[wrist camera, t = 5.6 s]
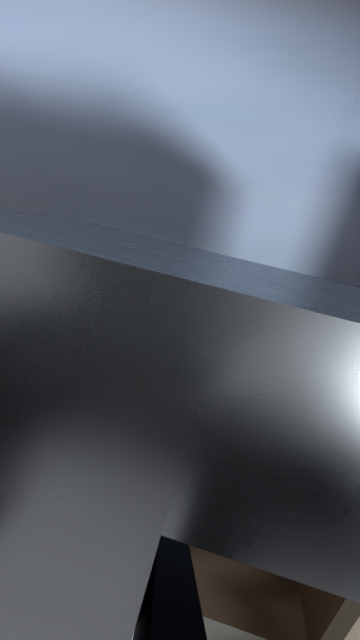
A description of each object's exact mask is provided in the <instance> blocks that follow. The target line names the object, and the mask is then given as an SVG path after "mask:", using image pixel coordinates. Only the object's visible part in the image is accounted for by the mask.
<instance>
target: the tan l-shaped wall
mask: <svg viewBox="0 0 360 640" xmlns="http://www.w3.org/2000/svg"><path fill="white" fill-rule="evenodd" d="M189 547H190V552H191V557H192V562H193V568H194V573H195V578H196V583H197V588H198V594H199V599H200V604H201V609H202V614H203V620H204V625H205V630H206V635H207V640H360V603H358V602H355V601H352V600H349V599H346V598H343V597H341V596H338V595H335V594H332V593H329V592H326V591H323V590H320V589H317V588H314V587H311V586H308V585H305V584H302V583H299V582H297V581H294V580H291V579H288V578H285V577H282V576H279V575H276V574H273V573H270V572H267V571H264V570H261V569H258V568H255V567H253V566H250V565H247V564H244V563H241V562H238V561H235V560H232V559H229V558H226V557H223V556H220V555H217V554H214V553H211V552H209V551H206V550H203V549H200V548H197V547H194V546H191V545H189ZM134 630H135V629H134ZM133 634H134V633H133Z"/></svg>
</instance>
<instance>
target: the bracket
mask: <svg viewBox="0 0 360 640" xmlns="http://www.w3.org/2000/svg"><path fill="white" fill-rule="evenodd" d="M161 535H162V536H165V537H167V538H170V539H173V540H176V541H179V542H182V543H185V544H188V545H191V546H194V547H197V548H200V549H203V550H206V551H209V552H211V553H214V554H217V555H220V556H223V557H226V558H229V559H232V560H235V561H238V562H241V563H244V564H247V565H250V566H253V567H255V568H258V569H261V570H264V571H267V572H270V573H273V574H276V575H279V576H282V577H285V578H288V579H291V580H294V581H297V582H299V583H302V584H305V585H308V586H311V587H314V588H317V589H320V590H323V591H326V592H329V593H332V594H335V595H338V596H341V597H343V598H346V599H349V600H352V601H355V602H358V603H360V288H358V287H354V286H350V285H346V284H342V283H338V282H333V281H329V280H325V279H321V278H317V277H313V276H309V275H305V274H300V273H296V272H292V271H288V270H284V269H280V268H276V267H272V266H267V265H263V264H259V263H255V262H251V261H247V260H243V259H239V258H234V257H230V256H226V255H222V254H218V253H214V252H210V251H205V250H201V249H197V248H193V247H189V246H185V245H181V244H177V243H172V242H168V241H164V240H160V239H156V238H152V237H148V236H144V235H139V234H135V233H131V232H127V231H123V230H119V229H115V228H110V227H106V226H102V225H98V224H94V223H90V222H86V221H82V220H77V219H73V218H69V217H59V216H47V215H34V214H22V213H9V212H0V640H132V636H133V633H134V629H135V626H136V622H137V619H138V615H139V611H140V608H141V604H142V601H143V597H144V594H145V590H146V587H147V583H148V579H149V576H150V572H151V569H152V565H153V562H154V558H155V554H156V551H157V547H158V544H159V540H160V537H161Z"/></svg>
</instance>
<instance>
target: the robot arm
mask: <svg viewBox="0 0 360 640" xmlns="http://www.w3.org/2000/svg"><path fill="white" fill-rule="evenodd" d="M133 640H207V635H206V630H205V625H204V620H203V614H202V609H201V604H200V599H199V594H198V588H197V583H196V578H195V573H194V568H193V562H192V557H191V552H190V547H189V545H188V544H185V543H182V542H179V541H176V540H173V539H170V538H167V537H165V536H162V535H161V537H160V540H159V544H158V547H157V551H156V554H155V558H154V562H153V565H152V569H151V572H150V576H149V579H148V583H147V587H146V590H145V594H144V597H143V601H142V604H141V608H140V611H139V615H138V619H137V622H136V626H135V630H134V636H133Z"/></svg>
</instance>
